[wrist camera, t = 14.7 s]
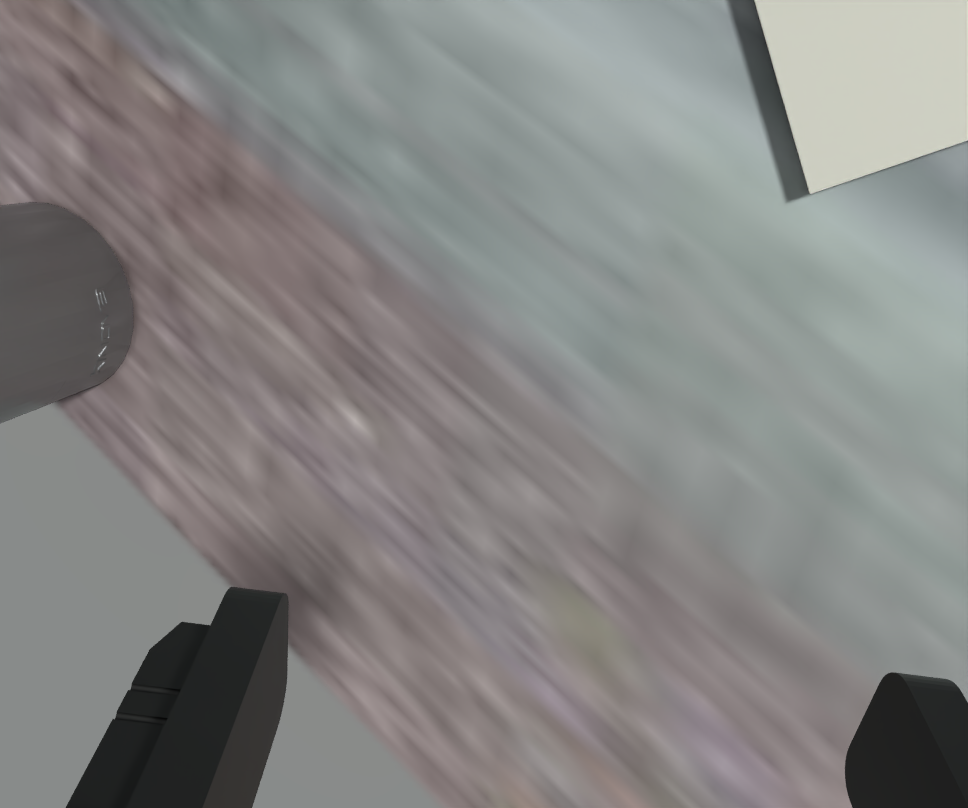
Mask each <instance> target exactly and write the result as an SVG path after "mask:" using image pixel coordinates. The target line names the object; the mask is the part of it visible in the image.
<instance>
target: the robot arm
mask: <svg viewBox="0 0 968 808" xmlns="http://www.w3.org/2000/svg"><path fill="white" fill-rule="evenodd" d="M132 332H133V304H132V298H131V293H130V288H129V285H128V282H127V279H126V277H125V274H124V271H123V269H122V266H121V265H120V263H119V261H118V259H117V258H116V256H115V254H114V252H113V251H112V249H111V247H110V246H109V245H108V244H107V242H106V241H105V240H104V239H103V238H102V236H101V235H100V234H99V233H98V232H97V231H96V230H95V229H94V228H93V227H92V226H91V225H89V224H88V223H87V222H86V221H85V220H84V219H82V218H81V217H79V216H77V215H76V214H74V213H72V212H70V211H69V210H67V209H65V208H62V207H59V206H55V205H52V204H49V203H37V202H28V203H18V204H9V205H0V423H2V422H5V421H8V420H10V419H13V418H15V417H18V416H20V415H23V414H25V413H28V412H30V411H33V410H36V409H38V408H41V407H43V406H46V405H48V404H51V403H53V402H56V401H58V400H61V399H63V398H65V397H68V396H70V395H73V394H75V393H78V392H80V391H83V390H85V389H88V388H90V387H93V386H95V385H98V384H100V383H102V382H104V381H105V380H106V379H108V378H109V377H110V376H111V375H113V374H114V373H115V371H116V370H117V369H118V367H119V366H120V365H121V364H122V362H123V361H124V358H125V356H126V354H127V351H128V349H129V347H130V343H131V338H132ZM287 657H288V596H287V594H284V593H277V592H269V591H261V590H253V589H245V588H237V587H230V588H229V589H228V590H227V592H226V594H225V595H224V598H223V600H222V602H221V604H220V606H219V608H218V610H217V613H216V615H215V617H214V619H213V621H212V623H211V626H210V625H202V624H195V623H186V622H181V623H180V624H179V625H178V626H176V627H175V628H174V629H173V630H172V631H171V632H169V633H168V634H167V635H166V636H165V637H164V638H163V639H161V640H160V641H159V642H158V643H157V644H155V646H153V647H152V648H151V649H150V650H149V652H148V654H147V656H146V658H145V660H144V661H143V663H142V665H141V667H140V669H139V671H138V673H137V675H136V676H135V678H134V680H133V682H132V687H131V690H128V692H127V693H126V695H125V697H124V699H123V701H122V703H121V705H120V707H119V709H118V710H117V715H116V718H115V719H113V720H112V722H111V723H110V725H109V727H108V729H107V731H106V733H105V735H104V737H103V739H102V740H101V742H100V744H99V746H98V748H97V750H96V752H95V754H94V755H93V757H92V759H91V761H90V763H89V765H88V767H87V769H86V770H85V772H84V774H83V776H82V778H81V780H80V782H79V784H78V786H77V788H76V789H75V791H74V793H73V795H72V797H71V799H70V801H69V802H68V804H67V806H66V808H252V806H253V803H254V800H255V796H256V793H257V790H258V787H259V784H260V781H261V778H262V775H263V771H264V768H265V765H266V762H267V759H268V756H269V753H270V749H271V746H272V743H273V740H274V737H275V734H276V731H277V727H278V724H279V721H280V717H281V712H282V708H283V703H284V697H285V691H286V684H287ZM845 779H846V787H847V792H848V796H849V799H850V802H851V804H852V807H853V808H968V703H967V701H966V699H965V697H964V696H963V694H962V692H961V691H960V689H959V688H958V686H957V685H956V684H955V683H953V682H952V681H950V680H948V679H941V678H933V677H925V676H917V675H909V674H901V673H888V674H887V675H885V676H884V677H883V679H882V680H881V682H880V684H879V686H878V688H877V690H876V692H875V694H874V696H873V698H872V700H871V702H870V704H869V706H868V709H867V711H866V713H865V715H864V717H863V719H862V721H861V723H860V725H859V727H858V729H857V731H856V734H855V736H854V738H853V740H852V742H851V744H850V746H849V749H848V752H847V756H846V763H845Z"/></svg>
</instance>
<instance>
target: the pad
mask: <svg viewBox="0 0 968 808" xmlns="http://www.w3.org/2000/svg"><path fill="white" fill-rule="evenodd" d="M754 2H755V6H756V9H757V13H758V16H759V20H760V23H761V27H762V30H763V34H764V37H765V41H766V44H767V48H768V51H769V55H770V58H771V62H772V65H773V69H774V72H775V76H776V79H777V83H778V86H779V90H780V93H781V97H782V100H783V104H784V107H785V111H786V114H787V118H788V121H789V125H790V128H791V132H792V135H793V139H794V142H795V146H796V149H797V153H798V156H799V160H800V163H801V167H802V170H803V173H804V177H805V180H806V184H807V187H808V191H809V193H810V194H812V193H815V192H818V191H821V190H824V189H827V188H830V187H833V186H835V185H838V184H841V183H844V182H847V181H850V180H853V179H856V178H859V177H862V176H865V175H868V174H871V173H874V172H877V171H879V170H882V169H885V168H888V167H891V166H894V165H897V164H900V163H903V162H906V161H909V160H912V159H915V158H918V157H921V156H924V155H926V154H929V153H932V152H935V151H938V150H941V149H944V148H947V147H950V146H953V145H956V144H959V143H962V142H965V141H968V0H754Z"/></svg>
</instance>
